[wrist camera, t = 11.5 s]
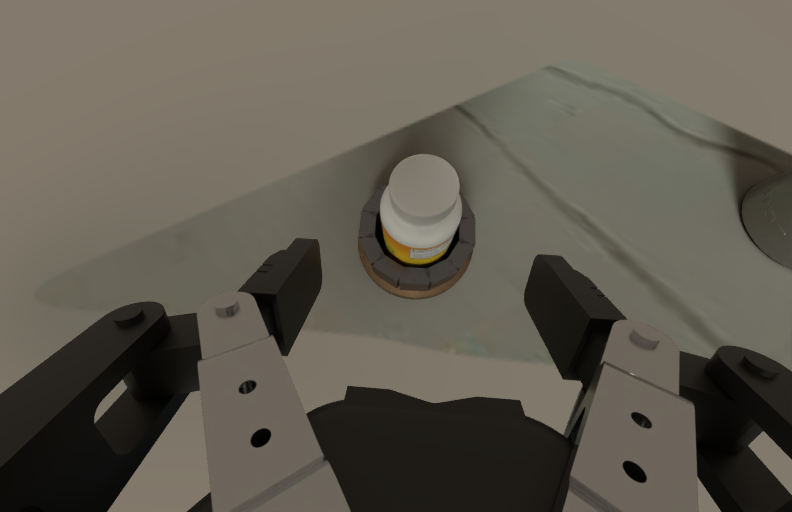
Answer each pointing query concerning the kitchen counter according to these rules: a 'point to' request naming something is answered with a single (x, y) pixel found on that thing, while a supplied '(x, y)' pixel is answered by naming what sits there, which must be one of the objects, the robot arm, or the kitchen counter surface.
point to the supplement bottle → (420, 210)
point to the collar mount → (406, 278)
